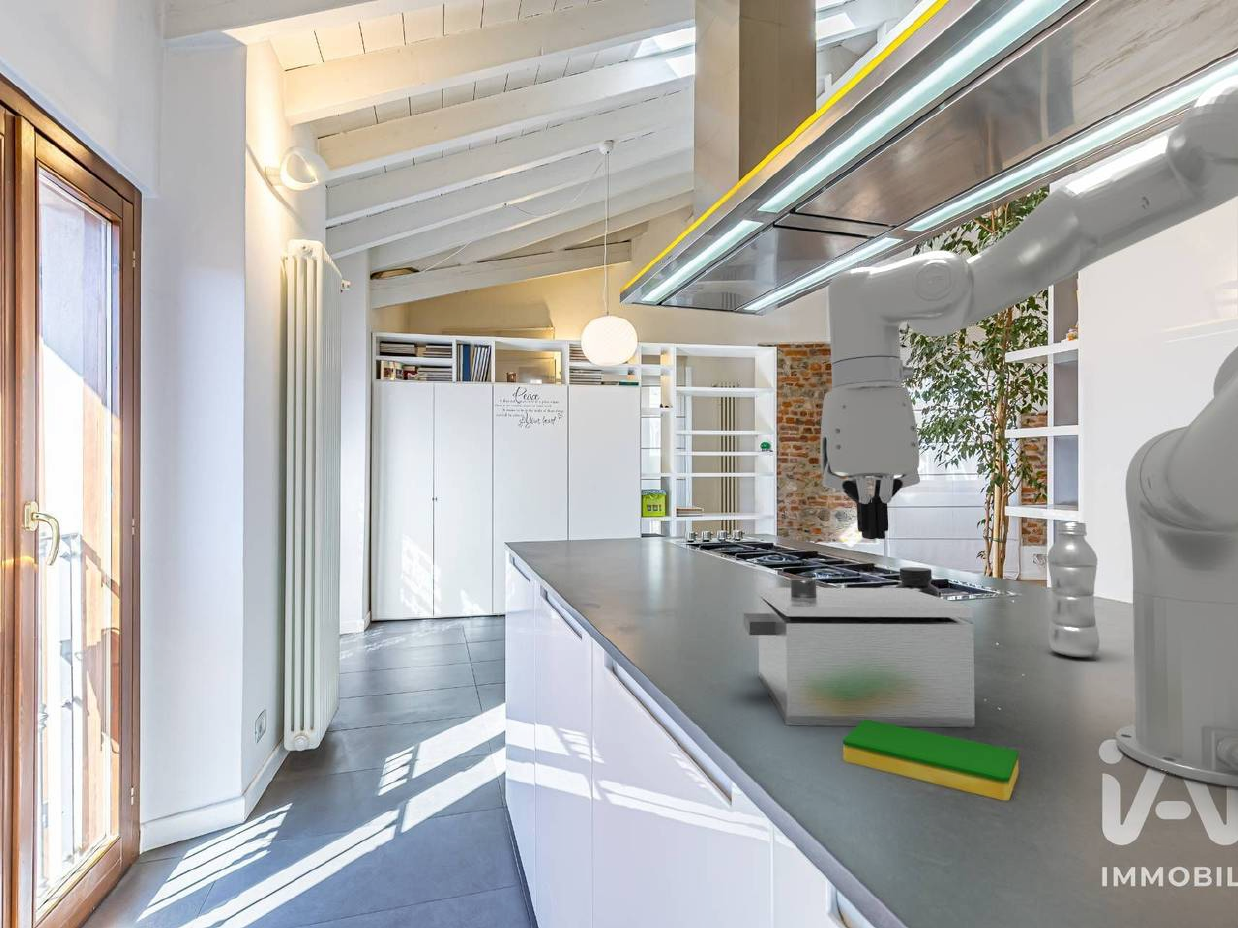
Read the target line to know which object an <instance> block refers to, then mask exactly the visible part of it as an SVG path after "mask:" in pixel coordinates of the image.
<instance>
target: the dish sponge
mask: <svg viewBox="0 0 1238 928" xmlns="http://www.w3.org/2000/svg"><path fill="white" fill-rule="evenodd" d="M842 744H843V746H842V759H843V760H844V762H845V763H846V762H847V763H851V764H855V765H859V766H862V767H866V768H871V769H875V770H879V771H882V772H887V773H891V774H894V775H899V776H903V777H907V778H910V779H915V780H919V781H923V782H928V783H931V784H935V785H939V786H943V787H947V788H948V787H949V788H951V789H955V790H959V791H962V792H963V791H964V792H967V793H972V794H976V795H981V796H984V797H988V798H991V799H992V798H993V799H996V800H1000V801H1004V802H1005V801H1010V798H1011V795H1012V792H1013V791H1014V787H1015V785H1016V781H1017V779H1018V775H1019V752H1018V751H1017V750H1015V749H1012V748H1006V747H1003V746H1002V747H1001V746H998V745H991V744H987V743H982V742H977V741H971V740H968V739H963V738H959V737H953V736H947V735H944V734H938V733H935V732H928V731H923V730H919V729H915V728H914V729H913V728H910V727H904V726H896V725H891V724H886V723H881V722H876V721H871V720H863V721H862V722H861V723H860V724H859V725H858V726H855V728H853V730H851V731H850V732H849V733H848V734H847V735H846V736H845V737H844V738H843V739H842Z"/></svg>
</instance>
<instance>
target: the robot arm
mask: <svg viewBox="0 0 1238 928" xmlns="http://www.w3.org/2000/svg"><path fill="white" fill-rule="evenodd" d="M1235 198H1238V73H1237V74H1234V75H1232V76H1229V77H1225V78H1224V79H1221V80H1220V81H1218V82H1216V83H1215V84H1213V85H1211V86H1210V87H1208V88H1207V89H1206V90H1204V91H1203V92H1202V93H1201V94H1200V95H1199V96H1198V97H1197V98H1196V99H1195V100H1194V102H1193V103H1192V104H1191V105H1190V107H1189V108H1188V110H1187V112H1186V113H1185V115H1184V116H1183V118H1182V119H1181V120H1180V122H1179V124H1178V125H1177V126H1176V127H1175V128H1174V129H1171V130H1170V131H1168V132H1166V133H1164V134H1162V135H1160V136H1158V137H1156V138H1154V139H1152V140H1150V141H1149V142H1146V143H1145V144H1142V145H1141V146H1139V147H1136V148H1135V149H1133V150H1130V151H1129V152H1126V153H1125V154H1123V155H1121V156H1119V157H1117V158H1115V159H1113V160H1111V161H1109V162H1107V163H1104V164H1103V165H1101V166H1099V167H1097V168H1095V169H1093V170H1091V171H1089V172H1087V173H1085V174H1082V175H1081V176H1079V177H1077V178H1075V179H1073V180H1070V181H1069V182H1066V183H1065V184H1062V185H1061V186H1059V187H1058V188H1057V189H1055V190H1054V191H1053V192H1051V193H1050V194H1048V195H1047V196H1046V197H1045V198H1044V199H1043V200H1042V201H1041V202H1040V203H1039V204H1038V205H1037V206H1036V207H1035V208H1033V210H1032V211H1031V212H1030V213H1029V214H1028V215H1027V216H1026V217H1025V218H1024V219H1023V220H1022V221H1021V222H1020V223H1019V224H1018V225H1017V226H1016V227H1014V229H1012V230H1011V231H1010V232H1009V233H1008V234H1006V235H1005V236H1004V237H1002V238H1001V239H999V240H998V241H996V242H995V243H994V244H992V245H990V246H988V247H986V249H983V250H982V251H980V252H979V253H976V254H975V255H973V256H971V257H968V258H967V259H966V258H965V257H963V256H962V255H960V254H958V253H957V252H954V251H950V250H943V249H942V250H939V249H938V250H932V251H930V250H929V251H927V252H922V253H920V254H915V255H913V256H910V257H907V258H904V259H900V260H898V261H894V262H891V263H888V264H884V265H881V266H862V267H856V268H851V269H847V270H845V271H842V272H840V273H837V274H836V275H835V276H834V277H833V278H832V279H831V280H830V282H829V285H828V294H827V295H828V296H827V297H828V299H827V300H828V314H829V315H828V316H829V317H828V318H829V319H828V321H829V339H830V340H829V341H830V364H831V387H832V390H831V391H827V392H825V394H824V399H823V404H822V411H821V412H822V413H821V430H820V451H819V452H820V455H819V456H820V459H819V460H820V469H821V472H822V474H823V476H822V481H821V483H822V485H823V487H825V488H830V489H834V490H839V491H843V492H844V494H845V495H847V496H848V497H849V498H850V499H851V500H852V502H853V503H855V504H856V506H855V507H856V522H857V525H856V526H857V531H858V532H859V533H861V537H862V538H863V539H867V540H875V539H877V540H886V539H885V538H886V532H888V530H889V511H888V510H889V509H888V503H890V502H892V498H893V497H895V495H897V493H898V492H899V491H900V490H901V489H904V488H909V487H911V486H915V485H918V484H920V482H921V478H920V475H919V471H918V469H919V467H920V446H919V438H918V429H917V423H916V416H915V412H914V407H913V403H912V399H911V395H910V392H909V389H908V386H903V385H902V384H903V383H904V381H906V380H907V379H908V380H909V379H913V377H914V372H915V371H914V368H913V367H912V366H906V365H904V364H903V363H904V362H903V360H902V359H901V340H900V339H901V337H900V326H901V324H902V323H904V322H906V324H907V325H908V326H909V328H911V329H912V330H913V331H914V332H915V333H918V334H920V335H923V336H926V337H927V336H928V337H941V336H947V335H952V334H954V333H956V332H958V331H961V330H964V329H966V328H968V327H970V326H973V325H974V324H975V325H976V323H979V322H982V321H983V320H986V319H988V318H991V317H993V316H995V315H997V314H1000V313H1001V312H1004V311H1005V310H1007V309H1009V308H1011V307H1014V306H1015V305H1017V304H1019V303H1021V302H1023V301H1025V300H1027V299H1029V298H1031V297H1032V296H1034V295H1037V294H1038V293H1040V292H1042V291H1044V290H1045V289H1048V288H1050V287H1051V286H1053V285H1056V284H1058V283H1059V282H1062V281H1064V280H1066V279H1068V278H1070V277H1072V276H1074V275H1075V274H1077V273H1079V272H1080V271H1082V270H1083V269H1085V268H1088V267H1089V266H1090V265H1092V264H1095V263H1096V262H1099V261H1100V260H1103V259H1104V258H1107V257H1109V256H1112V255H1113V254H1116V253H1118V252H1119V251H1122V250H1125V249H1126V248H1128V247H1130V246H1134V245H1135V244H1138V243H1140V242H1143V241H1145V240H1147V239H1149V238H1151V237H1153V236H1156V235H1157V234H1160V233H1161V232H1164V231H1166V230H1169V229H1171V228H1172V227H1175V226H1177V225H1180V224H1182V223H1184V222H1186V221H1188V220H1191V219H1193V218H1195V217H1197V216H1199V215H1203V213H1206V212H1209V211H1210V210H1213V209H1215V208H1217V207H1219V206H1221V205H1223V204H1226V203H1228V202H1229V201H1231V200H1233V199H1235ZM1213 381H1214V382H1213V389H1212V390H1213V397H1212V399H1211V400H1209V402H1208V403H1207V404H1206V406H1205V407H1204V408H1203V409H1202V410H1201V411H1200V413H1198V414H1197V415H1196V417H1195V418H1194V419H1193V420H1192V421H1191V422H1190V424H1188V425H1187V426H1183V427H1178V428H1177V427H1176V428H1173V429H1169V430H1167V431H1164V432H1161V433H1159V434H1157V435H1155V436H1153V437H1151V438H1150V439H1149V440H1147V441H1146V442H1145V443H1144V444H1142V445H1141V447H1139V448H1138V449H1137V451H1136V452H1135V454H1134V455H1133V456H1132V458H1131V460H1130V462H1129V464H1128V467H1127V471H1126V475H1125V500H1126V507H1127V516H1128V522H1129V523H1128V525H1129V531H1130V542H1131V557H1132V558H1131V560H1132V563H1131V564H1132V617H1133V618H1132V620H1133V621H1132V622H1133V623H1132V624H1133V626H1132V627H1133V628H1132V629H1133V670H1134V673H1133V675H1134V681H1133V682H1134V720H1135V722H1134V723H1135V724H1130V725H1126V726H1123V727H1121V728H1119V729H1118V730H1116V732H1115V733H1116V734H1115V743H1116V745H1117V747H1118V748H1119V749H1120V750H1121V751H1122V752H1123V753H1124V754H1125V755H1127V756H1128V757H1130V758H1132V759H1134V760H1135V761H1138V762H1140V763H1142V764H1144V765H1146V766H1149V767H1151V768H1153V767H1156V768H1159V769H1163V770H1166V771H1168V772H1171V773H1173V774H1172V775H1175V774H1176V775H1175V776H1178V777H1182V778H1186V779H1190V780H1194V781H1200V782H1203V783H1208V784H1215V785H1220V786H1227V787H1233V786H1235V787H1234V788H1237V787H1236V786H1238V346H1236V347H1235V348H1234V349H1233V350H1232V351H1231V352H1230V353H1229V354H1228V355H1227V356H1226V358H1225V359H1224V360H1223V362H1222V363H1221V365H1220V367H1218V371H1217V373H1216V375H1215V378H1214V380H1213ZM895 476H897V477H895ZM867 477H874V479H873V490H872V491H873V492H872V497H871V495H870V491H869V485H868V479H867ZM844 478H847V479H844ZM1156 768H1155V769H1156ZM1159 769H1158V770H1159ZM1168 772H1167V773H1168ZM1171 773H1170V774H1171Z"/></svg>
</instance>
